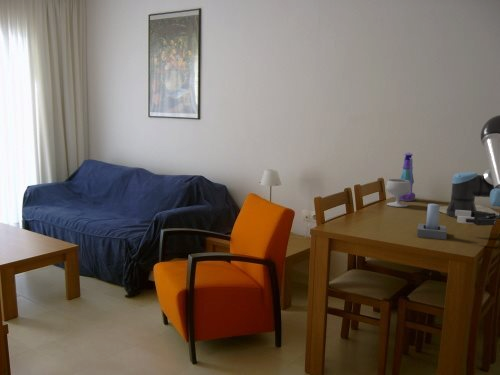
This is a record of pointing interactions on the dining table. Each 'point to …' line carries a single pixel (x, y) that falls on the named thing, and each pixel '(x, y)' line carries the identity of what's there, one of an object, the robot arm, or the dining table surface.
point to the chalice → (398, 190)
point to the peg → (432, 216)
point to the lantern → (408, 177)
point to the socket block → (431, 232)
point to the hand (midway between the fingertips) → (456, 215)
